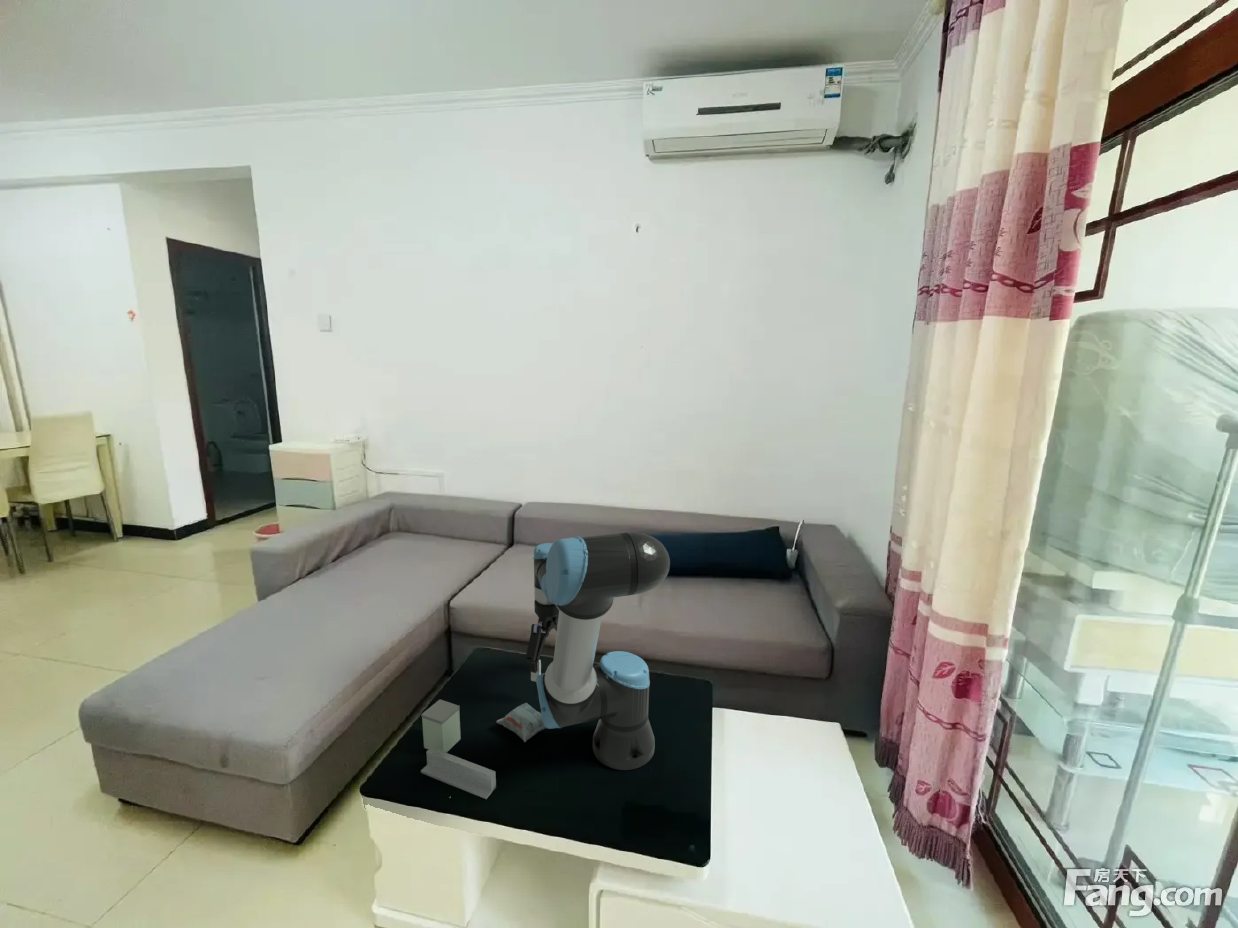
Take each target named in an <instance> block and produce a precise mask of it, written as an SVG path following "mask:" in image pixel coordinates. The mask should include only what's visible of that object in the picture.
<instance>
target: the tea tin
mask: <svg viewBox="0 0 1238 928" xmlns="http://www.w3.org/2000/svg"><path fill="white" fill-rule="evenodd" d="M460 709H461V708H460V705H459V704H458V705H457V704H455V703H452V702H449V701H447V700H446V701H445V700H443V699H438V700H437V701H436V702H435V703H434V704H432V705H431V706H430V707H429V708H427V709H426V710H425V711H424V712H422V714H421V713H420V714H421V718H422V719H421V720H422V736H423V737H422V738H423V748H424V749H427V751H428V750H429V749H430V748H431V747H432V748H435V749H437V750H440V751H443V752H445V753H448V752H449V751H450V750H451V749H452V748H453V747H454V746H455V745H456V744H458V742H459V741H460V740H461V739H462V737H461V721H460V720H461V719H460Z"/></svg>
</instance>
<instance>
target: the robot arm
mask: <svg viewBox="0 0 1238 928" xmlns="http://www.w3.org/2000/svg"><path fill="white" fill-rule="evenodd" d="M532 559H533V576H534V578H533V581H534V583H533V584H534V586H533V588H534V589H533V590H534V613H535V614H536V615H537V617H538V619H537V623H536V624H535V623H532V624H531V626H530V627H531V630H530V635H529V636H530V637H529V640H528V645H527V651H526V654H525V659H524V662H526V663H529V664H530V681H532V682H534V683H535V682H536V687H537V688H536V689H537V694H538V701H539V707H540V713H541V714H542V720H543V724H544V726H545V727H546V728H545V729H548V730H549V729H550V730H551V729H562V728H564V727H569V726H574V725H578V724H583V723H588V722H592V721H597V720H598V722H597V725H596V728H595V730H594V733H593V735H592V752H593V754H594V756H595V758H596V759H597V760H598V761H599V762H600V763H601V764H602V765H604V766H606V767H608V768H611V769H614V770H617V771H618V770H619V771H630V770H636V769H638V768H641V767H643V766H645V765H646V764H647V763H648V762H649V761H651V759H652V758H653V756H654V753H655V748H656V747H655V746H656V745H655V743H656V742H655V741H656V740H655V736H654V733H653V729H652V726H651V723H650V720H649V705H650V704H649V701H650V699H649V698H650V696H649V695H650V683H651V681H650V671H649V670H650V669H649V666H648V665H647V663H646V661H645V660H644V659H643V658H641V657H640V656H639V655H636V654H634V653H632V652H629V651H622V650H621V651H620V650H616V651H613V650H612V651H610V652H609V651H608V652H607V653H605V654H604V655H602V656H601V659H600V661H599V664H595V665H594V662H595V656H596V650H597V645H598V640H599V635H600V631H601V624H602V619H603V616H605V615H606V614H607V613H609V611H610V610H611V608H612V606H613V603H614V599H615V598H619V597H620V598H622V597H628V596H635V595H640V594H644V593H647V592H649V591H651V590H653V589H656V588H657V587H659V586H660V585H661V584H662V583H663V582H664V580H665V579H666V578H667V577H668V574H669V572H670V567H671V559H670V555H669V552H668V551H667V548H666V547H665V546H664V544H663V543H662V542H661V541H660V540H659V539H657V538H655V537H653V536H652V535H650V534H646V533H643V532H636V531H633V532H632V531H630V532H629V531H628V532H619V533H612V534H611V533H610V534H601V535H600V534H599V535H591V536H583V537H582V536H578V535H574V536H571V537H568V538H561V539H557V540H555V541H554V542H544V543H540V544H537V545H536V546H535V547H534V549H533V557H532ZM553 629H554V630H555V631H556V634H555V645H554V653H553V661H551V663H549V664H548V666H547V668H546V670H545V672H542V663H541V661H542V660H541V659H540V658H541V653H542V651H543V648H544V645H545V642H546V639H547V638H548V637H549V635H550V632H551V631H552V630H553Z"/></svg>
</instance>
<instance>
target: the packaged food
mask: <svg viewBox="0 0 1238 928" xmlns="http://www.w3.org/2000/svg"><path fill="white" fill-rule="evenodd" d="M496 723H497V724H499V725H502V726H503V727H504V728H506V729H507V730H509V731H512V732H513V733H514V734H516V735H517V736H518V737H519V738H520V739H521V740H523V742H524V743H526V742H527V741H528V740H530V739H531V738H532V737H534V736H536V734H537V733H539V732H541V731H543V730H545V729H547V728H546V727H545V726H544V724H543V720H542V714H541V711H538V710H536V709H535V708H534V707H532V705H530V704H528V702H525V703H522V704H520V705H518V706H516V707H515V708H513V709H512V710H511V711H510V712H509V713H507V714H506V715H505V716H504V717H502V718H500V719H497V720H496Z"/></svg>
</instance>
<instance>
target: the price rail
mask: <svg viewBox="0 0 1238 928" xmlns="http://www.w3.org/2000/svg"><path fill="white" fill-rule="evenodd" d="M420 773H421V774H422V775H426V776H427V777H430V778H433V779H435V780H437V781H440V782H442V783H444V784H447V785H449V786H452V787H454V788H457V789H460V790H462V791H464V792H466V793H469V794H471V795H474V796H476V797H480V798H482V799H484V800H487V799H488V798H489V797H490V795H491V794H492V793H493V791H495V789H496V788H497V779H496V771H495V770H493V769H491V768H490V769H489V768H487V767H485V766H482V765H479V764H477V763H474V762H471V761H468V760H466V759H463V758H461V757H459V756H457V755H453V754H450V753H448V752H447V753H445V752H443V751H440V750H437V749H435V748H432V747H431V748H430V749H429V750H428V749H427V750H426V766H424V767H423V768H422V769H421V770H420Z"/></svg>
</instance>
